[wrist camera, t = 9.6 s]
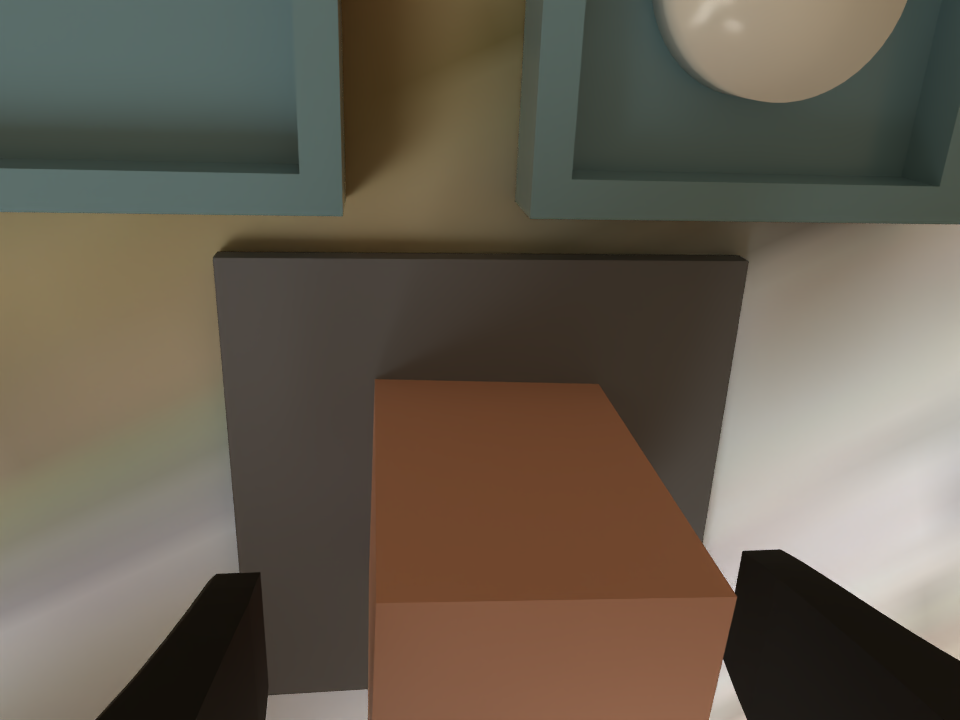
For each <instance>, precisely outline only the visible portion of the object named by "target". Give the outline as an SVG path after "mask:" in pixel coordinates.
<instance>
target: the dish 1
mask: <svg viewBox="0 0 960 720" xmlns="http://www.w3.org/2000/svg"><path fill="white" fill-rule="evenodd" d="M345 200H346V187H345V143H344V99H343V55H342V10H341V0H0V212H50V213H127V214H204V215H281V216H343V212H344V206H345Z"/></svg>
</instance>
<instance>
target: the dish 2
mask: <svg viewBox="0 0 960 720" xmlns="http://www.w3.org/2000/svg"><path fill="white" fill-rule="evenodd" d="M515 202H516V203H517V204H518V205H519V207H520V208H521V209H522V210H523V211H524V212H525V214H526V215H527V216H528V217H529V218H530V219H589V220H666V221H743V222H820V223H897V224H960V0H907V3H906V5H905V7H904V10H903V12H902V14H901V16H900V18H899V20H898V22H897V24H896V26H895V27H894V29H893V31H892V33H891V34H890V36H889V37H888V38H887V40H886V41H885V43H884V44H883V46H882V47H881V48H880V49H879V50H878V52H877V53H876V54H875V55H874V56H873V57H872V59H871V60H870V61H869V62H868V63H867V64H866V65H864V66H863V67H862V68H861V69H860V70H859V71H858V72H857V73H855V74H854V75H853V76H851V77H850V78H849V79H847V80H846V81H845V82H843V83H841V84H840V85H838V86H836V87H835V88H833V89H831V90H829V91H827V92H825V93H822V94H820V95H818V96H815V97H811V98H808V99H804V100H801V101H794V102H787V103H770V102H763V101H757V100H752V99H746V98H741V97H736V96H731V95H727V94H724V93H720V92H717V91H714V90H712V89H710V88H708V87H706V86H704V85H702V84H701V83H699V82H698V81H697V80H695V79H694V78H692V77H691V76H690V75H689V74H688V73H687V72H686V71H685V70H683V69H682V68H681V66H680V65H679V64H678V63H677V61H676V60H675V59H674V58H673V56H672V55H671V53H670V51H669V50H668V48H667V46H666V45H665V43H664V41H663V38H662V36H661V34H660V31H659V29H658V25H657V22H656V18H655V14H654V9H653V2H652V0H526V7H525V25H524V44H523V62H522V81H521V99H520V118H519V136H518V155H517V173H516V191H515Z"/></svg>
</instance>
